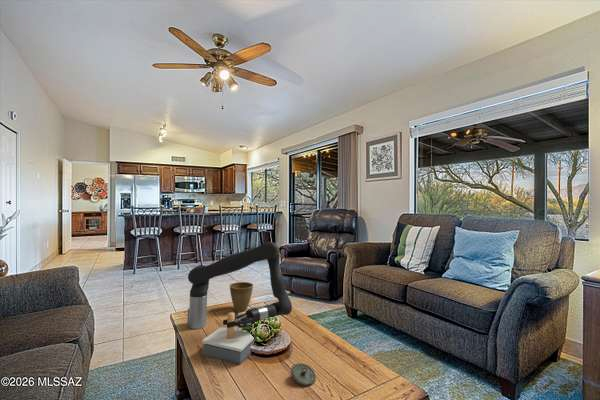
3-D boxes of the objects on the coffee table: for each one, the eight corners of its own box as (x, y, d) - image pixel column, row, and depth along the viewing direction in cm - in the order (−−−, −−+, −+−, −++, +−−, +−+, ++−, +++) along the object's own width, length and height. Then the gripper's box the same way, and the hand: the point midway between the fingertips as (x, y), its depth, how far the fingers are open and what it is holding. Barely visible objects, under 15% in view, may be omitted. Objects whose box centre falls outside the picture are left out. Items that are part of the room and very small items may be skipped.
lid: (301, 368, 124) (301, 357, 124) (320, 378, 118) (321, 365, 118) (285, 380, 115) (285, 367, 115) (305, 391, 109) (305, 377, 109)
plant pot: (254, 306, 193) (255, 282, 193) (248, 314, 179) (249, 289, 179) (233, 304, 195) (234, 281, 195) (225, 313, 180) (226, 287, 180)
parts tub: (203, 355, 131) (203, 344, 131) (221, 341, 144) (221, 331, 144) (240, 364, 125) (240, 353, 125) (255, 349, 138) (255, 338, 138)
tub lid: (202, 346, 131) (203, 316, 131) (221, 332, 145) (222, 305, 145) (240, 355, 125) (241, 323, 124) (256, 340, 139) (257, 311, 138)
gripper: (249, 303, 149) (218, 311, 138) (265, 312, 139) (232, 321, 127) (249, 318, 149) (217, 326, 138) (264, 327, 139) (232, 338, 127)
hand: (225, 324), depth 133 cm, fingers closed on tub lid, 3 cm apart
